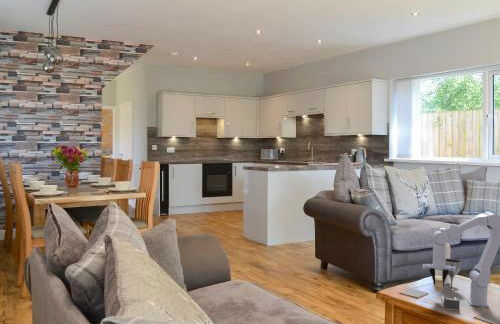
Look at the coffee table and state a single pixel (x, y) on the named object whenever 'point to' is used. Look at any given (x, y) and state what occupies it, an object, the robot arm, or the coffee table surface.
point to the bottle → (439, 272)
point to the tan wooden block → (438, 283)
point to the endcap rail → (451, 303)
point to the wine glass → (455, 264)
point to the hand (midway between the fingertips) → (438, 284)
